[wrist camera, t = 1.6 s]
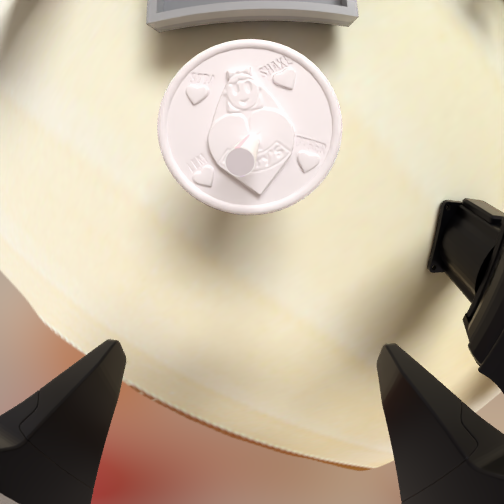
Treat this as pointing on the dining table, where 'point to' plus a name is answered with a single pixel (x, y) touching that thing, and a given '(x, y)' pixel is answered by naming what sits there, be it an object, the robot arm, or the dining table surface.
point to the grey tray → (247, 12)
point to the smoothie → (249, 127)
